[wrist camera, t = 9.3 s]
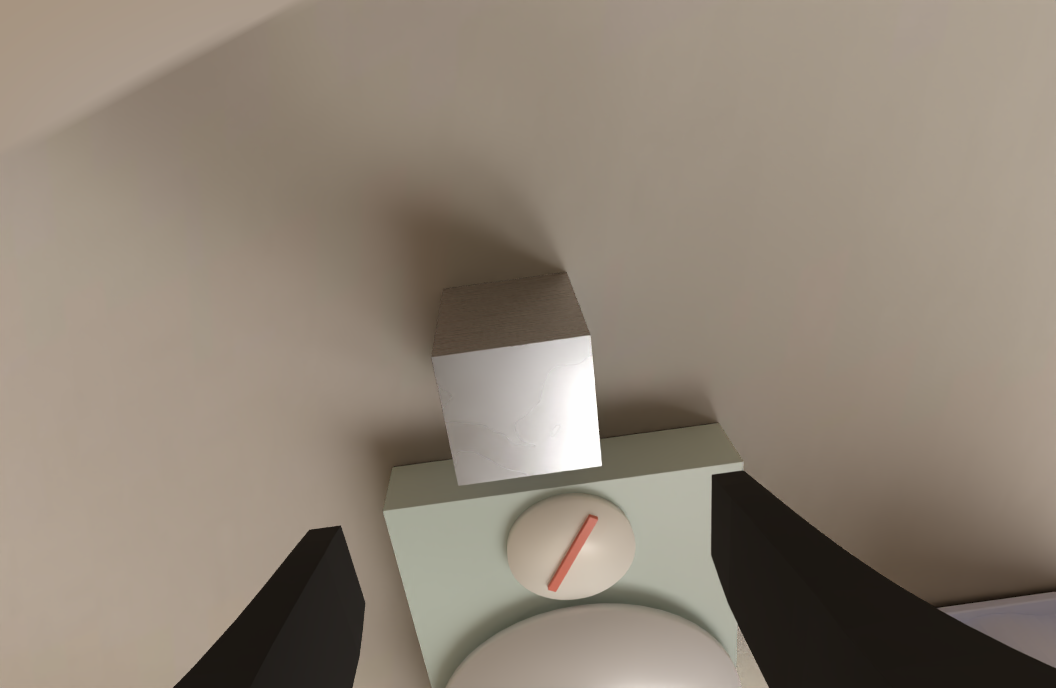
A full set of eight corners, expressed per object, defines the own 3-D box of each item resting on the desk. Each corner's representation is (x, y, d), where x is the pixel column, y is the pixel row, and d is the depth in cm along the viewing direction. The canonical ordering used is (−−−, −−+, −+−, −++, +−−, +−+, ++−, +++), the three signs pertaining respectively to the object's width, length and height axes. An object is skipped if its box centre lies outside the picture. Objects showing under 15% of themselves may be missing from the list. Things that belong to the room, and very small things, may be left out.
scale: (718, 422, 23) (752, 476, 20) (714, 721, 30) (739, 792, 27) (392, 467, 23) (378, 527, 20) (466, 755, 30) (464, 831, 27)
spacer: (566, 271, 20) (590, 335, 16) (577, 380, 22) (601, 465, 17) (442, 288, 20) (431, 357, 16) (463, 395, 22) (458, 485, 17)
